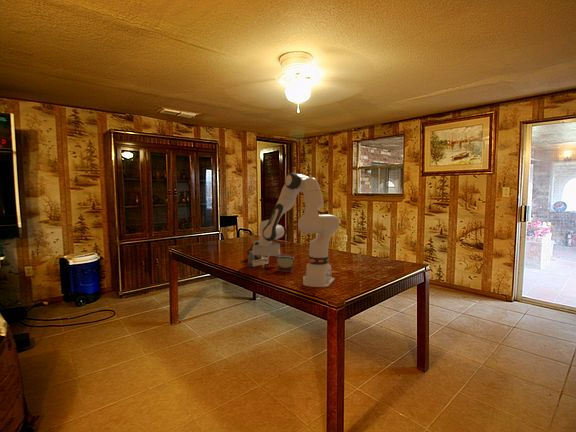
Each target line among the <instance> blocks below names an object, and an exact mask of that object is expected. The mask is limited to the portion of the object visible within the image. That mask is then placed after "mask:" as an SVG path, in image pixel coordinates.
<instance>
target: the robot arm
mask: <svg viewBox="0 0 576 432" xmlns="http://www.w3.org/2000/svg"><path fill="white" fill-rule="evenodd" d="M299 193H302V194H303V198H304V205H305V208H304V212H303V214H302V215H301V216H300V217H299V219H298V220H297V221H298V222H297V227H298V230H299V232H301V233H303V234H308V235H309V234H310V235H311V234H317V235H316V237H315V238H314V239H312V240H311V241H310V242H309V250H308V251H309V252H308V253H309V255H308V258H307V259H308V263H307V264H306V271H305V273H304V276H302V285H303V286H306V287H312V288H327V287H329V286H330V285H331V284H332V283H333V282H334V281H335V278H334V277H332V266H331V264H330V263H329V262H330V261H329V259H330V258H329V257H330V256H329V245H330V241H331V238H332V236H333V235H334V233H336V232H337V231H338V229H339V227H340V220H339V217H338V216H337V215H333V214H328V213H327V214H319V213H318V211H320V210H321V209H323V207H324V204H325V203H324V198H323V194H322V189H321V187H320V183H319V182H318V180H317V178H315V177H311V176H307V175H305V174H301V173H295V172H290V173H287V175H286V176H285V178H284V185H283V187H282V189H281V191H280V194H279V198H278V200H277V202H276V204H275V205H274V207H273V209H272V212H271V214H270V216H269V219H266V220H265V219H264V220H261V221H260V223H259V239H257V240H258V241H257V240H255V241H254V242H252V244H253V245H254V246H253V248H252V254H253V255H262V259H263V258H264V260H265V262H268V263H269V259H270V256H271V257H277V256H278V255H281V250H280V249H281V244H280V243H279V242H273V241H274V240H278V239H280V238H282V237H284V235H285V229H284V226H282V225H281V224H279V221H280V219H281V218H282V216H283V215H284V214H286V213H287V212H288V211H290V210H292V208H293V207H294V205H295V203H296V199H297V196H298V194H299ZM266 258H267V259H266Z"/></svg>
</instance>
